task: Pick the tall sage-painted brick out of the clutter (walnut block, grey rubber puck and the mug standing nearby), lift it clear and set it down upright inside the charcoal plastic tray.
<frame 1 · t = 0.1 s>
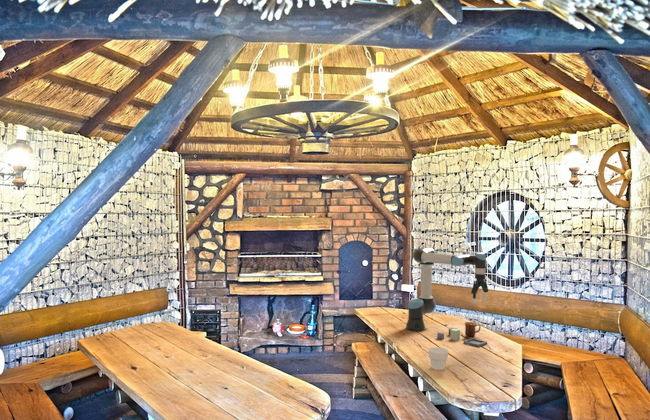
hand: (479, 301, 391), 28 cm above the table, fingers open, 13 cm apart
mug: (472, 336, 397), on the table
cup: (438, 368, 322), on the table
tray: (475, 343, 377), on the table
rubber puck: (440, 338, 390), on the table
sage brick: (455, 339, 389), on the table
walnut block: (452, 334, 401), on the table
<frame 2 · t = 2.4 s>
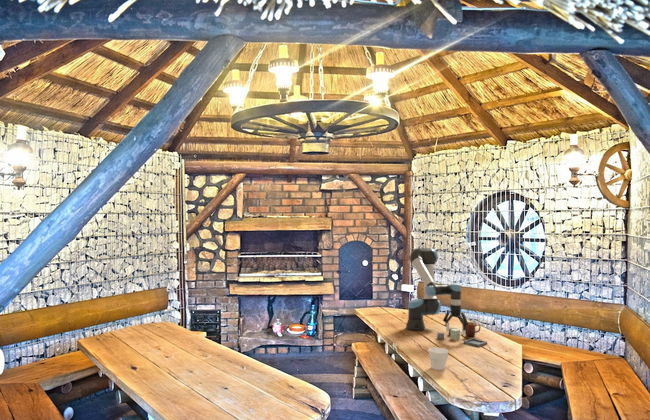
hand: (455, 332, 389), 5 cm above the table, fingers open, 13 cm apart
nothing on the table moved.
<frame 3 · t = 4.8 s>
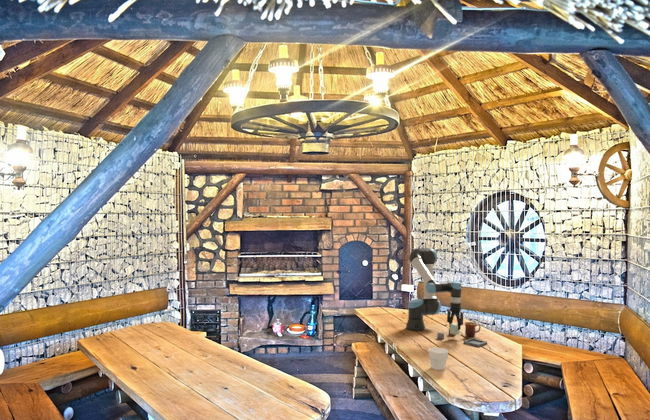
hand: (454, 332, 390), 4 cm above the table, fingers closed on sage brick, 5 cm apart
sage brick: (454, 333, 390), point 4 cm above the table, touching gripper
everything else where it was.
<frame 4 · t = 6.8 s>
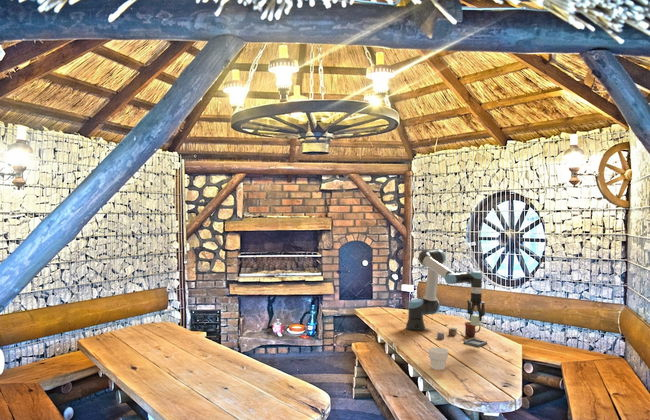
hand: (475, 324, 377), 14 cm above the table, fingers closed on sage brick, 5 cm apart
sage brick: (475, 324, 377), point 14 cm above the table, touching gripper
everything else where it was.
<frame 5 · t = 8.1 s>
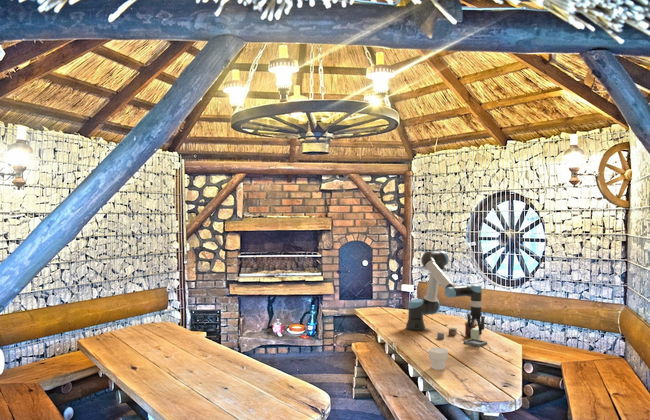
hand: (475, 338, 377), 4 cm above the table, fingers closed on sage brick, 5 cm apart
sage brick: (475, 338, 377), point 4 cm above the table, touching gripper
everything else where it was.
when the fingers open (2 cm above the table, at t = 9.2 s): sage brick stays where it is, resting on tray.
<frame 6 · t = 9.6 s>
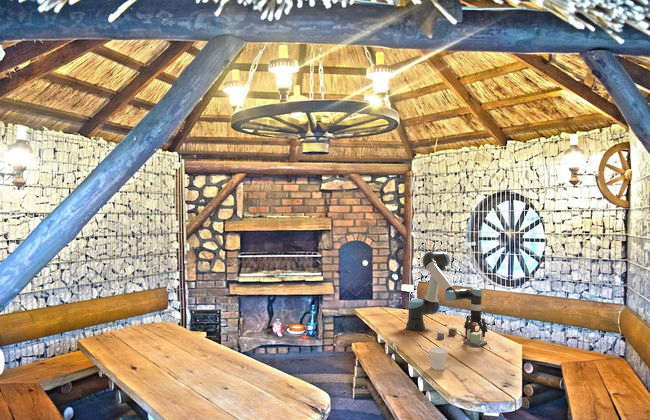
hand: (475, 339, 377), 3 cm above the table, fingers open, 10 cm apart
sage brick: (475, 342, 377), point 1 cm above the table, touching tray
everything else where it was.
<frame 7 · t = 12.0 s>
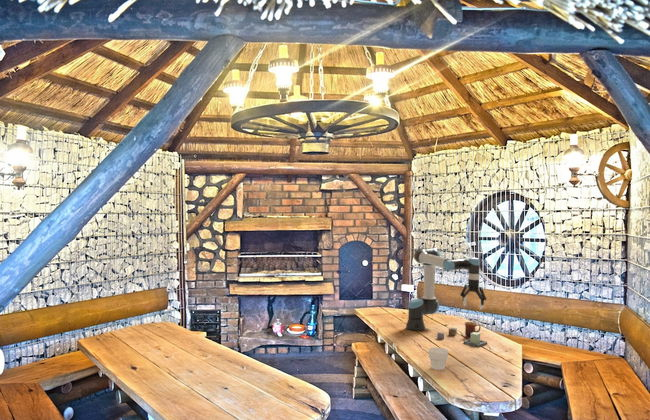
hand: (472, 307, 383), 25 cm above the table, fingers open, 13 cm apart
nothing on the table moved.
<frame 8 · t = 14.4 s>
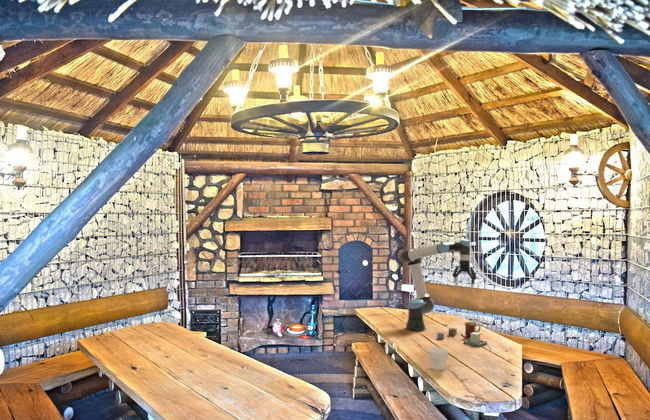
hand: (464, 287, 404), 37 cm above the table, fingers open, 13 cm apart
nothing on the table moved.
at the end: sage brick inside the target area on the tray (0.0 cm from its centre), point 0.6 cm above the tray's base; sage brick tilted 0°; the gripper is holding nothing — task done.
